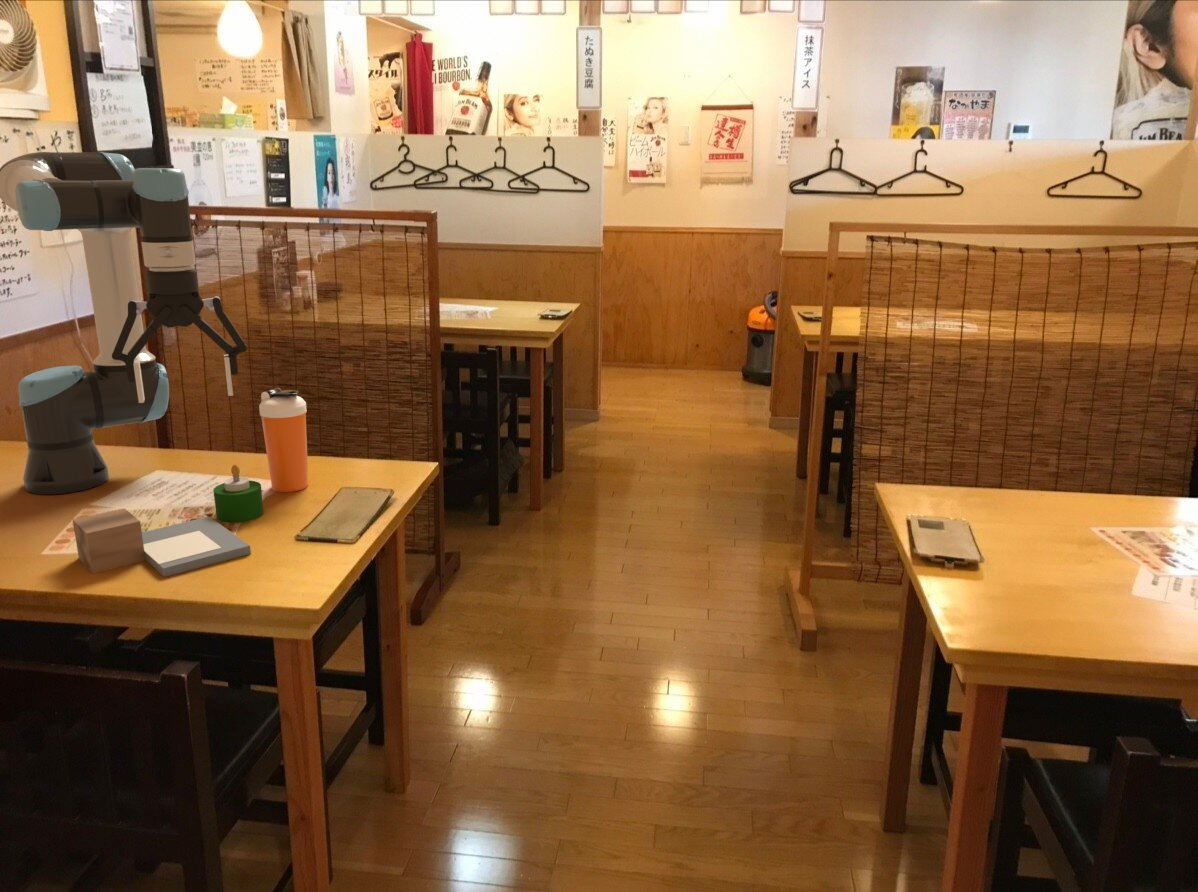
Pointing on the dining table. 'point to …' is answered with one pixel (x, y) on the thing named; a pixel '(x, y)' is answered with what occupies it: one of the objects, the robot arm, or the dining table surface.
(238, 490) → the candle
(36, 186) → the robot arm
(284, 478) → the shaker bottle
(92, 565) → the block
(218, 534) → the board
